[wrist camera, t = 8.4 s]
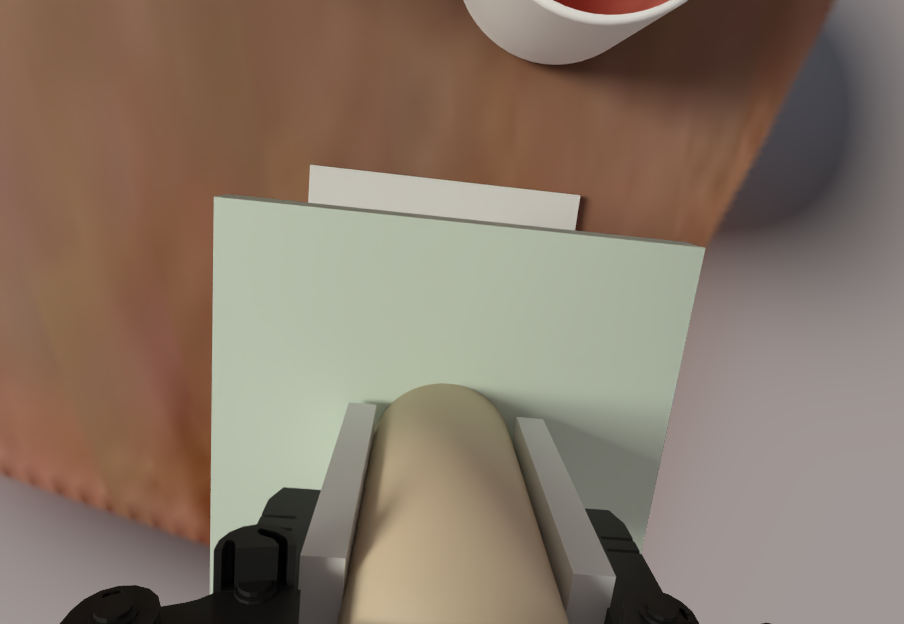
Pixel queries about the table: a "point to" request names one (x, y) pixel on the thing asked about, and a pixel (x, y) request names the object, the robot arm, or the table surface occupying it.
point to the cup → (564, 25)
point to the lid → (440, 388)
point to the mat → (442, 198)
